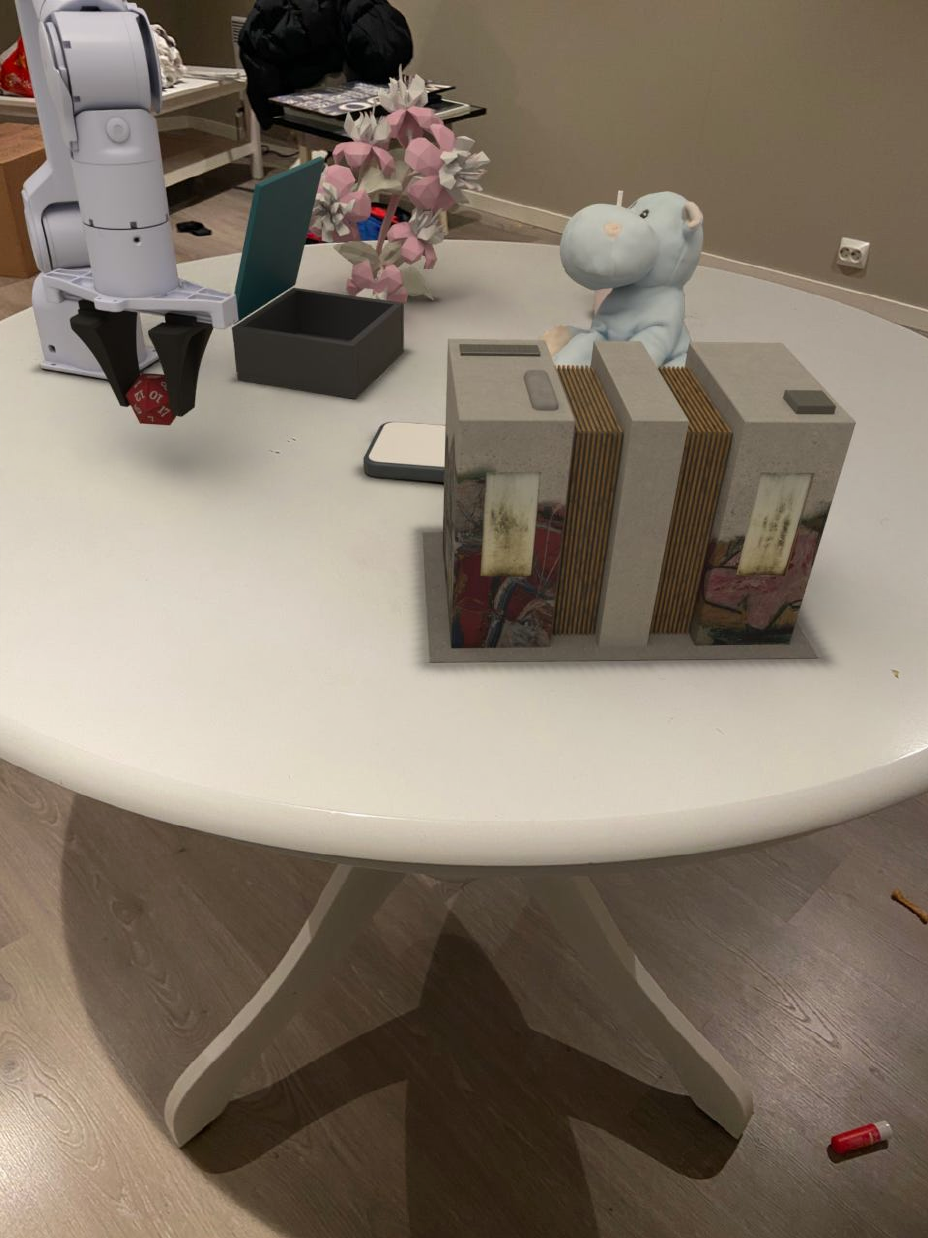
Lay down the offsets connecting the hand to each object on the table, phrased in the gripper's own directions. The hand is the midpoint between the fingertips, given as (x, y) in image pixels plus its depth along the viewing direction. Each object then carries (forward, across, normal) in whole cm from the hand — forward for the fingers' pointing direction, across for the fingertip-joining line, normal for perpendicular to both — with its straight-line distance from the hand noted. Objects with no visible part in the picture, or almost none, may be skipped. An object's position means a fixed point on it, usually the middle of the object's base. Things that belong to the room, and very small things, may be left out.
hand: (157, 406), depth 73 cm
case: (+7, +1, +28) cm, 29 cm away
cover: (-5, -3, +28) cm, 29 cm away
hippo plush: (+7, +32, +34) cm, 47 cm away
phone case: (+7, +21, +12) cm, 25 cm away
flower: (+7, +1, +46) cm, 47 cm away
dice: (+2, 0, 0) cm, 2 cm away
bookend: (+7, +36, -3) cm, 37 cm away
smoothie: (+7, +26, +55) cm, 61 cm away
